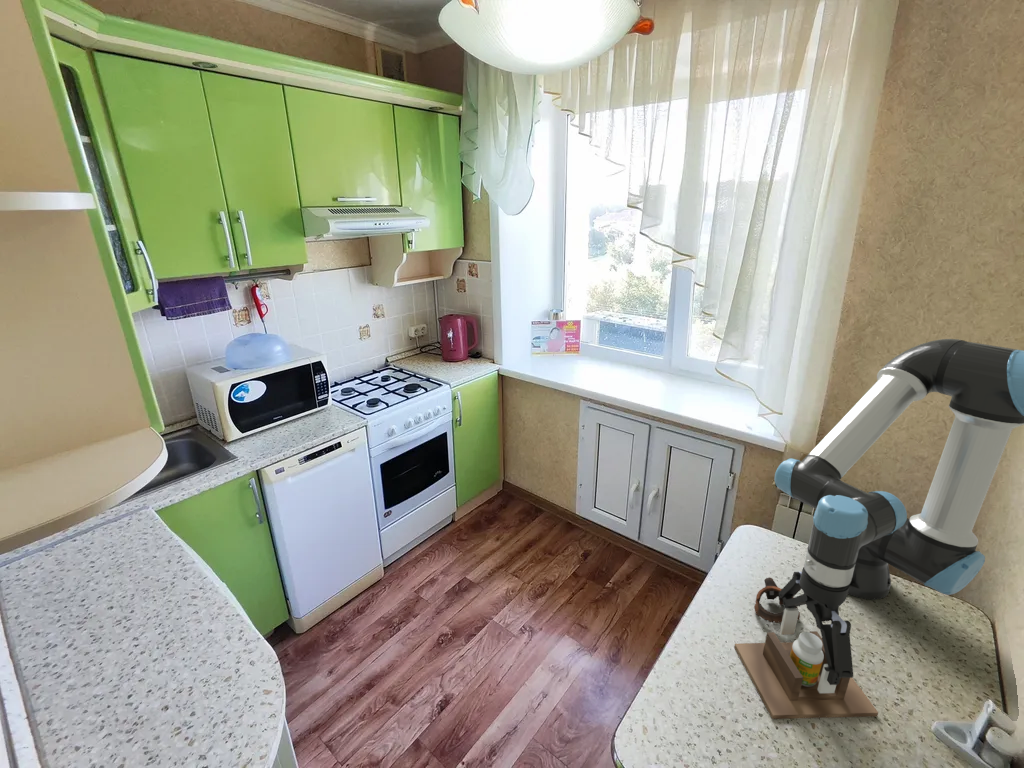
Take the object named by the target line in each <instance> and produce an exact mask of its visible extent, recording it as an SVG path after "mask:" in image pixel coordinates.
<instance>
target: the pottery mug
mask: <svg viewBox="0 0 1024 768" xmlns="http://www.w3.org/2000/svg"><path fill="white" fill-rule="evenodd" d="M764 585H765V586H764V587H762V588H761V589H759V591H758V592H757V593H756V598H755V604H754V607H753V608H754V612H755V615H756V616H758V617H759V618H761V619H763V620H765V621H766V622H769V623H775V624H778V623H779V624H781V623H782V618H783V610H782V611H780V612H771V611H770V610H769V611H768V610H767V609H766V608H764V607H763V605H762V604H761V602H760V601H761V597H762V596H763V595H764V594H765V595H766V599H767V600H772V601H773V600H775V599H777V598H778V603H779V605H783V601H784V600H783V598H780V596H779V592H780V591H781V590H782V589H783V588H780V587H779V586H778V585H777V583H776V581H774V579H773V577H770V576H769V577H766V578H765V579H764ZM793 598H795V597H793ZM783 606H784V605H783ZM795 608H798V609H799V606H796V607H795ZM800 617H801V613H800V611H799V615H798V619H797V621H800V619H801V618H800Z"/></svg>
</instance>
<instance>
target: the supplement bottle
mask: <svg viewBox="0 0 1024 768" xmlns="http://www.w3.org/2000/svg"><path fill="white" fill-rule="evenodd" d="M793 642H794V643H793V645H792V649H791V653H790V658H791V659H792V661H793V662H794V664H795V666H796V667H797V669H798V670H799V672H800V673H801V675H802V676H803V681H802V686H806V687H811V686H814V685H815V684H816V682H817V679H818V676H819V672H820V669H821V666H822V662H823V659H824V654H823V651H822V646H823V644H822V641H821V640H820V638H819V637H817V636H816V635H815V634H813V633H810V631H803V632H800V633H799V636H798V638H797V639H796V640H794V641H793Z"/></svg>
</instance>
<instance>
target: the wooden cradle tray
mask: <svg viewBox="0 0 1024 768" xmlns="http://www.w3.org/2000/svg"><path fill="white" fill-rule="evenodd" d="M809 632H810V633H813V634H815V635H816V636H817V637H819V638H820V640H821V641H822V644H823V640H822V636H821V635H820V634H819V632H818V631H815V630H814V631H809ZM793 643H794V641H789V642H787V641H786V642H785V641H784V642H782V641H780V639H779V638H778V635H776V632H773V631H772V632H766V636H765V640H764V642H749V643H745V642H744V643H734V647H733V648H734V649H735V651H736V654H737V655H738V657H739V659H740V660H741V664H742V665H743V666H744V669H745V670H746V672H747V674H748V676H749V678H750V679H751V681H752V684H753V685H754V687H755V690H756V691H757V693H758V695H759V696H760V698H761V699H760V700H761V701H762V702H763V704H764V706H765V709H766V710H767V713H768V714H769V716H770V718H771V719H772V720H789V719H792V720H793V719H822V718H823V719H826V718H828V719H829V718H830V719H831V718H834V719H835V718H866V717H869V718H870V717H878V716H879V711H878V710H877V708H876V707H875V706H874V704H872V702H871V700H870V699H869V698H868V697H867V695H866V694H865V693H864V691H863V690H862V688H861V687H860V686H859V685H858V683H857V682H856V681H855V679H854V677H852V678H841V679H840V682H839V684H838V685H836V688H835V692H834V693H819V691H818V690H817V689H818V685H819V682H820V678H821V674H822V670H823V666H824V664H827V659H826V654H825V650H824V645H823V646H822V651H823V654H824V659H823V662H822V666H821V669H820V672H819V676H818V679H817V682H816V684H815V685H814V686H811V687H806V686H802V681H803V676H802V675H801V673H800V672H799V670H798V669H797V667H796V666H795V664H794V662H793V661H792V659H791V658H790V653H791V649H792V645H793Z"/></svg>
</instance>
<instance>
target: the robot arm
mask: <svg viewBox="0 0 1024 768" xmlns="http://www.w3.org/2000/svg"><path fill="white" fill-rule="evenodd" d="M876 380H877V381H876V382H875V383H874V384H872V386H871V387H870V388H869V389H868V390H867V391H866V392H865V393H864V395H862V397H860V398H859V400H858V401H857V402H856V403H855V404H854V405H853V406H852V407H851V408H850V410H848V411H847V413H845V415H844V416H843V417H842V418H841V419H840V420H839V421H838V422H837V423H836V424H835V425H834V426H833V427H832V429H831V430H830V431H828V433H826V435H825V436H824V437H823V438H822V439H821V440H820V441H819V442H818V444H817V445H816V446H815V447H813V449H812V450H810V452H809V453H808V454H807V455H806V456H805V457H804V458H803V459H802V460H800V459H795V458H790V457H789V458H787V459H786V460H783V461H782V462H781V463H780V464H779V465H778V467H777V469H776V471H775V473H774V482H775V483H774V484H775V486H776V487H777V488H778V489H779V490H780V491H782V492H783V493H785V494H786V495H788V496H790V497H791V498H793V499H796V500H798V501H799V502H801V503H802V504H805V505H807V506H809V507H811V508H813V509H815V511H814V514H813V516H812V521H813V522H812V526H811V531H810V536H809V541H808V545H807V550H806V554H805V558H804V562H803V567H802V569H801V571H794V572H793V573H792V574H793V575H792V577H791V579H790V580H789V581H788V582H787V583H786V584H785V586H783V587H782V588H781V589H782V590H781V591H780V592H779V596H780V598H783V600H784V601H783V610H782V611H783V618H782V622H780V629H779V633H780V635H781V636H783V635H785V636H787V635H795V632H796V631H795V630H796V628H797V623H798V615H799V612H800V609H799V607H802V606H805V605H806V609H807V610H808V611H809V612H810V613H811V615H812V617H813V618H814V620H815V624H816V627H817V629H818V630H820V634H821V635H820V636H821V638H822V640H823V645H824V650H825V654H826V659H827V664H824V666H823V670H822V674H821V678H820V682H819V685H818V689H817V690H818V691H819V693H834V692H835V688H836V685H838V684H839V682H840V679H841V678H854V669H853V668H854V667H853V655H852V646H851V636H850V635H851V628H852V624H851V622H850V620H843V619H842V617H841V616H840V611H839V609H840V606H841V605H842V604H844V603H845V601H846V600H847V597H848V595H850V596H853V597H856V598H860V599H864V600H880V599H883V598H885V597H887V596H888V595H889V594H890V593H889V592H890V589H891V586H892V581H891V575H890V573H891V572H890V568H889V565H890V566H892V567H893V568H895V569H897V570H899V572H900V571H901V572H902V573H904V574H905V575H908V576H910V577H911V578H913V579H915V580H916V581H917V582H920V583H922V585H924V586H925V587H929V588H931V589H933V590H934V591H937V592H939V593H940V594H942V595H947V596H948V595H949V596H950V595H954V594H957V593H958V592H960V591H961V590H963V589H964V588H965V587H967V585H968V584H970V582H972V581H973V580H974V579H975V577H977V575H978V573H979V572H980V571H981V570H982V568H983V566H984V564H985V560H986V555H984V554H983V553H982V552H981V551H978V550H976V549H977V546H978V544H979V539H978V537H977V535H976V534H975V533H974V532H973V528H974V526H975V524H976V521H977V519H978V517H979V514H980V511H981V509H982V506H983V504H984V501H985V500H986V497H987V494H988V492H989V489H990V486H991V484H992V482H993V479H994V476H995V474H996V471H997V469H998V466H999V464H1000V461H1001V458H1002V456H1003V454H1004V451H1005V448H1006V446H1007V444H1008V441H1009V438H1010V436H1011V434H1012V431H1013V430H1014V429H1015V428H1019V427H1021V426H1024V350H1023V349H1016V348H1010V347H1002V346H996V345H990V344H985V343H978V342H973V341H966V340H965V339H964V340H963V339H957V338H942V339H941V338H940V339H936V340H932V341H928V342H924V343H920V344H918V345H916V346H914V347H911V348H909V349H906V350H905V351H903V352H902V353H900V354H898V355H896V356H895V357H893V358H892V359H891V360H890V361H889V360H888V362H886V364H885V365H884V366H883V367H881V369H880V370H879V371H878V372H877V374H876ZM929 393H939V394H942V395H946V396H949V397H951V399H950V401H949V404H948V408H949V409H950V411H951V412H952V413H953V414H954V419H953V422H952V425H951V427H950V430H949V432H948V433H949V434H948V436H947V439H946V440H945V441H946V442H945V444H944V448H943V450H942V453H941V456H940V457H939V461H938V464H937V467H936V470H935V472H934V476H933V478H932V481H931V484H930V487H929V490H928V491H927V495H926V498H925V501H924V504H923V506H922V509H921V513H917V514H913V515H911V516H910V517H909V518H908V514H907V512H908V511H907V509H906V506H905V505H904V503H903V502H902V500H901V499H900V498H899V497H897V496H896V495H894V494H893V493H890V492H888V491H884V490H875V491H869V492H866V491H864V490H862V489H860V488H858V487H855V486H854V485H850V484H849V483H846V482H844V481H842V478H843V477H844V476H845V475H846V474H847V473H848V471H849V470H850V469H851V468H852V467H854V465H855V464H856V463H857V462H858V461H859V460H860V459H861V458H862V457H863V456H864V454H866V452H867V451H868V450H869V449H870V448H871V447H872V446H873V445H874V444H875V443H876V442H877V441H878V440H879V439H880V438H881V437H882V435H883V434H884V433H885V432H886V431H887V430H888V429H889V428H890V426H892V424H893V423H895V421H897V419H898V418H899V417H901V415H902V414H903V413H904V412H905V411H906V410H907V409H908V407H909V406H910V405H912V403H913V402H918V401H921V400H923V399H925V398H926V396H927V395H928V394H929ZM801 590H802V592H803V594H800V595H797V594H798V593H799V592H800V591H801ZM796 595H797V596H796ZM794 596H795V597H794ZM793 597H794V598H793ZM796 606H797V607H798V608H795V607H796ZM823 622H831V623H830V624H828V623H827V624H826V623H825V624H824V623H823Z"/></svg>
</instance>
